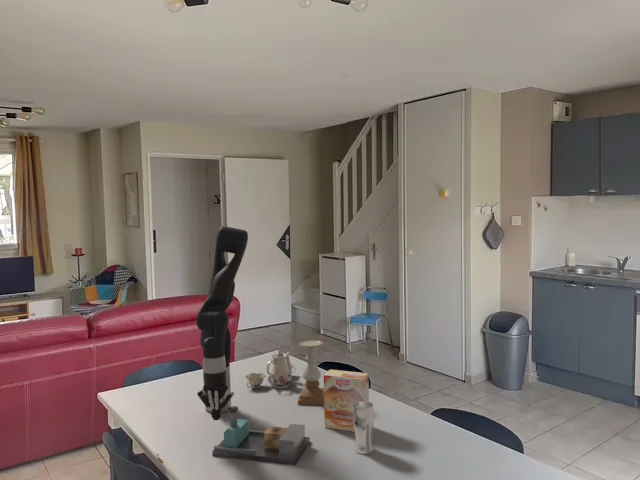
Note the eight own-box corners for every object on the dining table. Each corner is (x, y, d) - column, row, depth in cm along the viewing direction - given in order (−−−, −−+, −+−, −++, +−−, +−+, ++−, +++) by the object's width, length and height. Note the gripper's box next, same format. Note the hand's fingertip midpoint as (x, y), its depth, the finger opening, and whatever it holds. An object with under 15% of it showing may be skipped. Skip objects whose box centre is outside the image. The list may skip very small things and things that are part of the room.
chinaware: (282, 375, 248) (279, 341, 248) (310, 378, 238) (306, 342, 238) (241, 393, 225) (237, 355, 225) (269, 397, 215) (264, 357, 215)
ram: (222, 447, 167) (221, 414, 167) (236, 432, 178) (235, 401, 177) (235, 448, 166) (234, 415, 165) (248, 433, 177) (247, 402, 176)
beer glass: (351, 445, 170) (351, 401, 169) (372, 444, 171) (371, 400, 170) (355, 455, 163) (354, 409, 162) (376, 454, 164) (375, 408, 163)
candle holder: (327, 395, 216) (325, 339, 214) (324, 405, 205) (323, 346, 203) (301, 395, 217) (299, 339, 215) (297, 405, 206) (295, 346, 205)
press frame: (212, 455, 166) (211, 436, 165) (233, 434, 181) (232, 416, 181) (295, 464, 159) (294, 444, 158) (309, 441, 174) (309, 422, 174)
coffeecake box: (324, 427, 184) (322, 374, 183) (330, 420, 191) (329, 368, 190) (364, 433, 179) (363, 379, 178) (369, 425, 185) (368, 372, 184)
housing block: (264, 447, 167) (264, 432, 167) (270, 441, 172) (269, 426, 171) (282, 449, 165) (281, 434, 165) (287, 442, 170) (286, 427, 170)
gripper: (237, 366, 174) (239, 416, 175) (202, 364, 178) (204, 413, 179) (227, 373, 167) (229, 425, 168) (191, 371, 170) (193, 422, 171)
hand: (216, 419), depth 173 cm, fingers closed
